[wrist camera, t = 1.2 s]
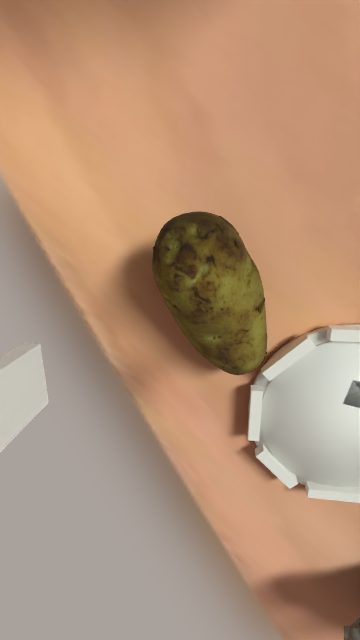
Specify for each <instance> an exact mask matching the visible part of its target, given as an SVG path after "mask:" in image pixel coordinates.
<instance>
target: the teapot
mask: <svg viewBox="0 0 360 640" xmlns="http://www.w3.org/2000/svg"><path fill="white" fill-rule="evenodd" d="M344 640H360V618H359V619H358V620H357V621H356V622H355V623H354V624H352V625H351V626H344Z"/></svg>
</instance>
